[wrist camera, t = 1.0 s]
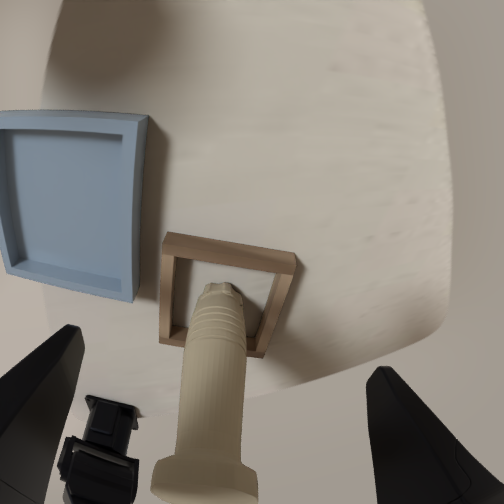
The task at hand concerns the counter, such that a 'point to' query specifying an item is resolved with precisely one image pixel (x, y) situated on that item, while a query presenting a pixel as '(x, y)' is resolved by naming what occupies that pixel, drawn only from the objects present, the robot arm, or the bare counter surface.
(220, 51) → the counter surface
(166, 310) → the brown square frame
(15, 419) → the robot arm
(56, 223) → the tray
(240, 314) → the handle
